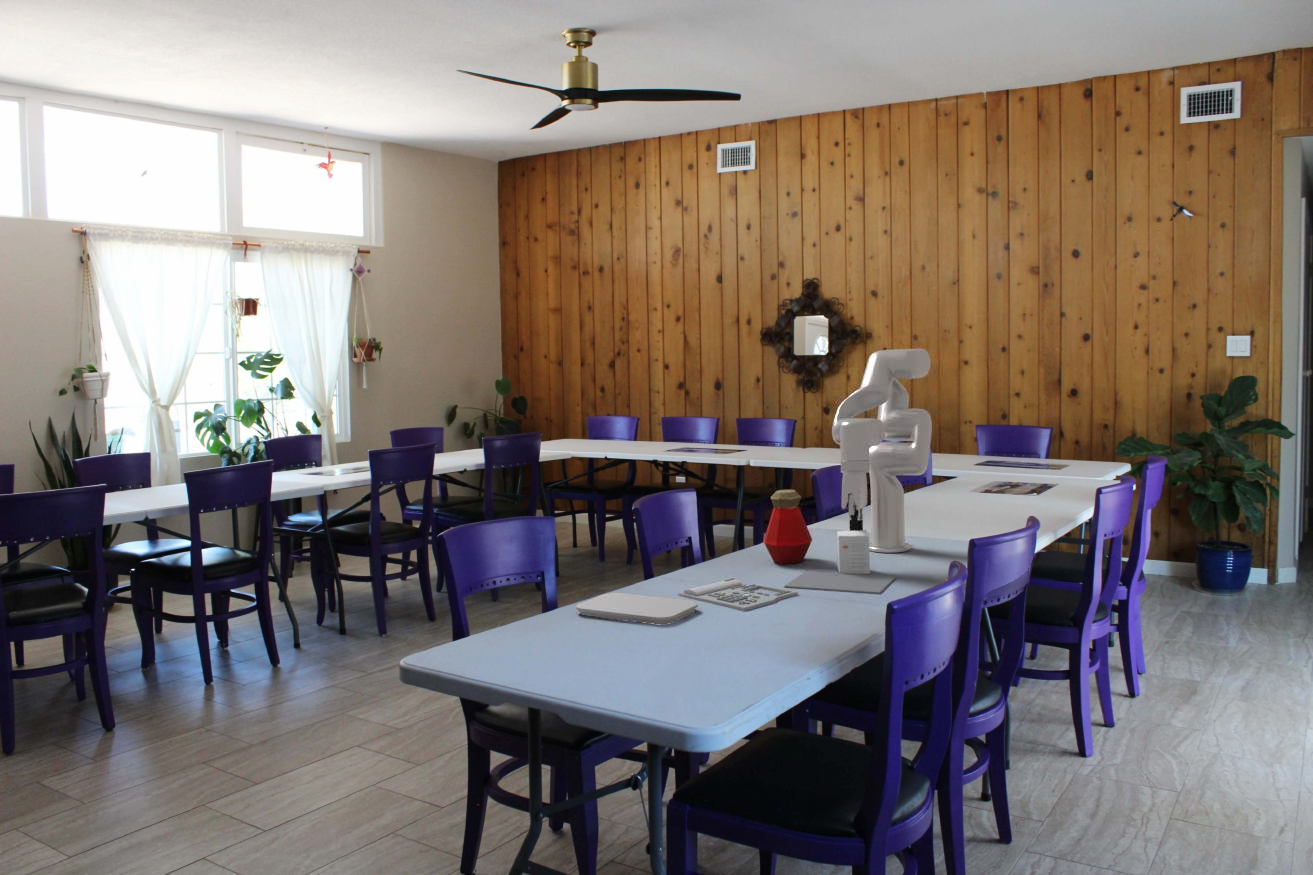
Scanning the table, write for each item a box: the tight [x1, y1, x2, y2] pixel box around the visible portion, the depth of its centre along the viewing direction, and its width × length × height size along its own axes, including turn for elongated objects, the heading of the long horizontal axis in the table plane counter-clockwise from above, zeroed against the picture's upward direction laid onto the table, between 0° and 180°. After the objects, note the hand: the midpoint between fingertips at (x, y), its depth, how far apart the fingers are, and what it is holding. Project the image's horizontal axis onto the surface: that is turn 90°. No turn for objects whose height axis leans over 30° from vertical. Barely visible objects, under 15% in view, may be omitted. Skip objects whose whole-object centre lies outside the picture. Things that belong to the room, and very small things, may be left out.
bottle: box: [762, 489, 813, 566], centre depth 277 cm, size 16×14×20 cm
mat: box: [783, 570, 897, 595], centre depth 249 cm, size 18×24×1 cm
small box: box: [836, 529, 871, 575], centre depth 260 cm, size 8×6×10 cm
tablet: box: [575, 592, 699, 625], centre depth 227 cm, size 16×26×2 cm, turn 59°
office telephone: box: [677, 578, 799, 612], centre depth 239 cm, size 23×3×20 cm
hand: (856, 534), depth 263 cm, fingers closed
